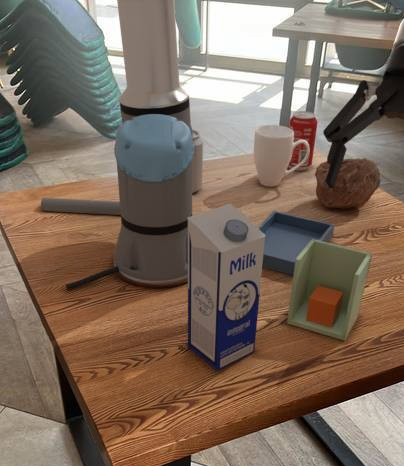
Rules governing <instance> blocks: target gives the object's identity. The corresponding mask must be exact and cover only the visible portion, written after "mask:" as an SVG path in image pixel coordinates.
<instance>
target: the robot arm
mask: <svg viewBox="0 0 404 466" xmlns="http://www.w3.org/2000/svg"><path fill="white" fill-rule="evenodd" d="M383 1H384V2H385V3H388V4H389V5H390V6H391V7H393V8H394V9H396V10H399V11H403V14H402V17H401V19H400V24H399V27H398V30H397V33H396V35H395V39H394V41H393V44H392V49H391V50H392V51H391V52H390V54H389V57H388V60H387V63H386V66H385V69H384V73H383V76H382V78H381V81H380V83H379V84H378V85H374V84H368V81H367V80H365V79H363V80H361V81H359V84H358V86H357V88H356V91H355V93H354V94H353V95H352V97H351V98H350V99H349V100H348V101H347V102H346V103H345V105H344V106H343V107H342V108H341V109H340V110H339V112H338V113H337V114H336V115H335V116H334V118H333V119H332V120H331V121H330V122H329V124H328V125H327V126H326V127H325V128H324V129H323V132H322V133H323V136H324V138H325V139H326V141H327V142H328V143H331V144H330V147H329V151H328V154H327V157H326V161H327V162H328V163H329V165H330V168H329V171H328V174H327V177H326V181H325V182H326V183H327V185H328V186H329V188H334V187H335V184H336V181H337V177H338V174H339V171H340V168H341V165H342V162H343V159H345V156H346V152H347V150H348V149H347V147H346V144H347V143H348V142H350V141H351V140H352V139H353V138H355V137H356V136H358V135H360V133H362V132H363V131H364V130H365V129H367V128H368V127H369V126H370V125H372V124H373V123H375V122H376V121H380V120H381V119H382V118H383V117H386V118H387V119H399V120H400V119H401V120H403V121H404V0H383ZM116 3H117V11H118V19H119V20H118V21H119V28H120V29H119V30H120V38H121V45H122V55H123V63H124V64H123V65H124V73H125V81H126V88H125V90H124V91H123V92H122V94H121V95H120V96H119V99H118V100H119V108H120V117H121V125H119V127H118V128H117V130H116V132H115V138H114V141H115V142H114V148H113V149H114V150H113V151H114V157H115V161H116V169H117V170H116V172H117V183H118V196H119V202H120V212H121V215H120V223H121V225H120V230H119V233H118V236H117V241H116V244H115V248H114V251H113V267H110V268H108V269H105V270H102V271H99V272H97V273H94V274H92V275H89V276H87V277H84V278H81V279H79V280H75V281H73V282H69V283H66V284H65V288H66V290H68V291H69V290H72V289H76V288H79V287H83V286H85V285H87V284H90V283H92V282H95V281H97V280H100V279H103V278H106V277H108V276H111V275H114V274H116V275H117V276H118V277H119V278H120V279H121V280H123V281H125V282H127V283H129V284H131V285H134V286H137V287H143V288H151V289H163V288H165V289H166V288H172V287H177V286H181V285H183V284H186V283H188V219H187V217H190V216H193V193H192V160H193V154H194V144H193V141H192V140H193V134H192V129H193V128H192V123H191V121H192V120H191V105H190V93H189V92H188V91H187V90H186V88H184V87H183V85H181V83H180V73H179V71H180V70H179V57H178V56H179V55H178V40H177V25H176V7H175V5H176V4H175V0H116ZM374 96H375V97H376V99H374V100H373V101H372V102H370V104H369V105H368V107H367V108H366V109H364V110H363V111H362V112H361V113H359V112H360V111H361V109H362V108H363V107H364V105H365V104H366V102H369V101H371V98H372V97H374ZM358 113H359V114H358ZM357 114H358V115H357ZM356 115H357V116H356ZM355 116H356V117H355ZM354 117H355V118H354Z"/></svg>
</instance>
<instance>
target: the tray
mask: <svg viewBox="0 0 404 466" xmlns="http://www.w3.org/2000/svg"><path fill="white" fill-rule="evenodd" d="M256 227H257V228H258V229H259V230H260V231H261V232H262V233H263V234H265V235H266V236H265V241H264V252H263V263H262V268H264V269H268V270H272V271H276V272H279V273H282V274H283V273H284V274H287V275H291V276H293V275H294V268H295V260H296V258H297V257H298V256H299V254H300V253H301V252H302V251H303V250H304V248H305V247H306V246H307V245H308V243H309V242H310V241H311V240H312V239H315V240H319V241H323V242H328V243H330V241H331V240H332V238H333V235H334V230H335V224H334V223H329V222H325V221H322V220H321V221H320V220H316V219H312V218H308V217H302V216H298V215H294V214H290V213H286V212H281V211H277V210H273V211H272V212H271V213H270V214H269V215H268V216H267V217H266V218H265V219H264V220H263V222H261V223H260V224H259V225H258V226H256Z"/></svg>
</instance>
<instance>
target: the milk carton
mask: <svg viewBox="0 0 404 466" xmlns="http://www.w3.org/2000/svg"><path fill="white" fill-rule="evenodd" d="M187 219H188V282H187V348H188V349H190V350H191V351H192V352H194V353H195V354H196V355H197V356H199V357H200V359H202V360H203V361H204V362H206V363H208V364H209V365H210V366H211V367H212V368H214V369H215V370H216V371H217V372H218V371H220V370H222V369H224V368H225V367H227V366H229V365H231V364H233V363H236V362H237V361H239V360H241V359H244V358H246V357H248V356H249V355H251V354H253V353H255V349H256V348H255V347H256V336H257V326H258V315H259V307H260V306H259V305H260V294H261V283H262V273H263V272H262V271H263V267H262V263H263V252H264V241H265V236H266V235H265V234H263V233H262V232H261V231H260V230H259V229H258V228H257V227H258V226H257V225H255V223H253V222H252V221H251V220H250V218H248V217H247V216H246V215H245V213H243V212H242V210H239V209H238V208H237V207H235V206H234V205H233V204H232V203H227V204H224V205H221V206H219V207H218V206H217V207H215V208H211V209H209V210H206V211H202V212H199V213H197V214H194V215H192V216H190V217H187Z"/></svg>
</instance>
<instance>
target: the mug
mask: <svg viewBox="0 0 404 466" xmlns="http://www.w3.org/2000/svg"><path fill="white" fill-rule="evenodd" d="M293 141H294V132H293V130H292V129H290V128H289V126H288V127H287V126H285V125H279V124H277V125H276V124H267V125H262V126H259V127H257V128H256V129H255V130H254V140H253V162H254V165H255V169H256V172H257V176H258V180H259V184H261V186H264V187H268V188H269V187H270V188H273V187H277V186H279V185H280V183H281V181H282V179H283V178H284V176H288V175H289V174H291V173H293V172H294V171H297V170H296V169H297V168H298V167H300V166H301V165H302V164H303V163H304V162H305V161H306V160H307V158H308V156H309V152H310V148H309V144H308V142H307V141H306V140H299V141H297V142H295V143H294V142H293ZM300 143H304V144H305V145H306V147H307V153H306V156H305V158H304V159H303V160H302V161H301V162H300V163H299V164H298V165H296V166H295V167H294V168H292V169H289V170H287V169H288V168H289V167H288V165H289V162H290V160H291V157H292V153H293V149H294V148H295V147H296V146H297V145H298V144H300Z"/></svg>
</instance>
